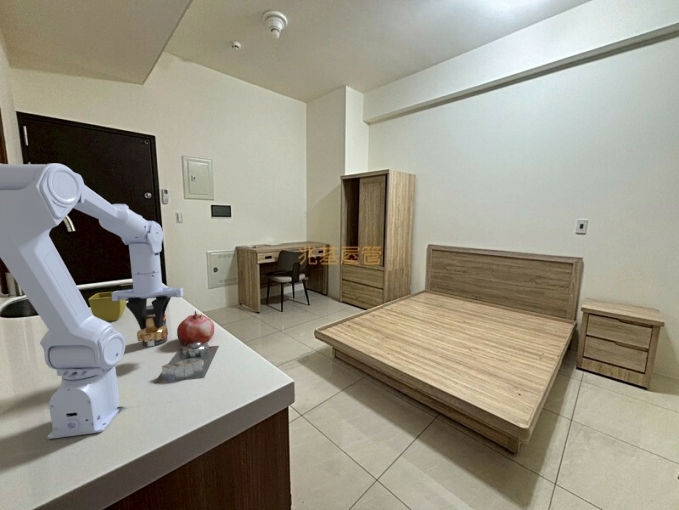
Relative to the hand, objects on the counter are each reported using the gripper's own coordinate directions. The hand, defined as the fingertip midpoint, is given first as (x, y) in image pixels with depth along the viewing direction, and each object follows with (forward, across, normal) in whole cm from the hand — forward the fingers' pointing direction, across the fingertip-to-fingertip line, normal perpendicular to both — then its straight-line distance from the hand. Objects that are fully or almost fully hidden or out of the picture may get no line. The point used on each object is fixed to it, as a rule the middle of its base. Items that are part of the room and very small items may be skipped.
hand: (151, 327), depth 70 cm
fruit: (+10, -7, -10) cm, 16 cm away
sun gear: (+8, -9, -2) cm, 12 cm away
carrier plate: (+9, -9, +3) cm, 13 cm away
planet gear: (+2, 0, 0) cm, 2 cm away
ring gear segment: (+8, -9, +9) cm, 15 cm away
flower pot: (+10, +28, -37) cm, 48 cm away
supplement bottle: (+10, +4, -11) cm, 15 cm away
